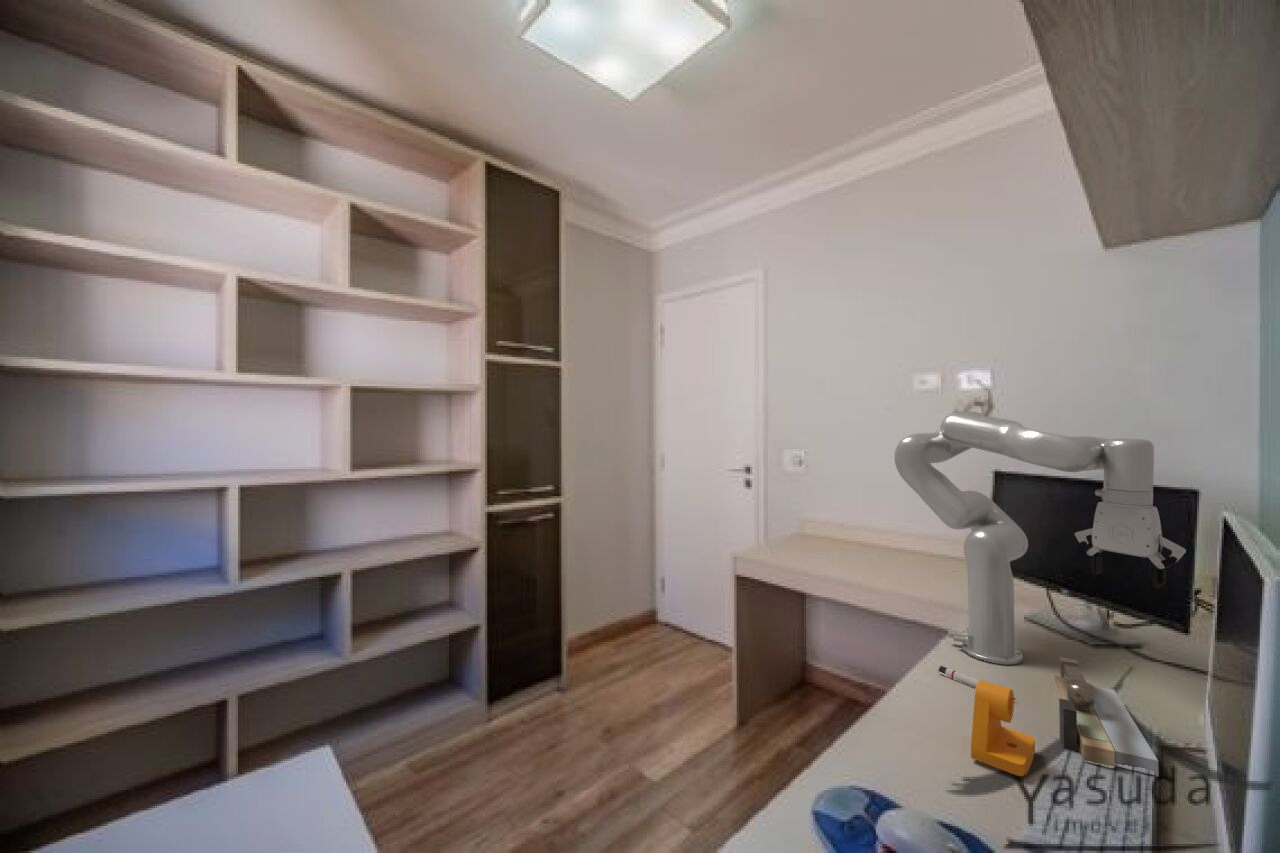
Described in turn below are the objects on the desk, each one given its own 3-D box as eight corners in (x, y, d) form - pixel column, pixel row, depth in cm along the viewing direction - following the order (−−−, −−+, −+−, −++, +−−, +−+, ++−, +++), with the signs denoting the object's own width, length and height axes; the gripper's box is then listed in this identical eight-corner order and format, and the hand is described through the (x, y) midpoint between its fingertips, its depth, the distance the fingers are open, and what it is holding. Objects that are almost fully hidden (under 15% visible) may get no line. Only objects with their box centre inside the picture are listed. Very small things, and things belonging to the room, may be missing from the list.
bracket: (1023, 783, 84) (1022, 708, 84) (971, 762, 89) (970, 691, 89) (1036, 753, 91) (1035, 684, 91) (987, 735, 96) (986, 670, 96)
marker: (938, 675, 120) (938, 666, 120) (943, 673, 121) (943, 664, 121) (1013, 705, 107) (1013, 696, 107) (1018, 703, 108) (1018, 693, 108)
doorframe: (1067, 757, 89) (1066, 717, 89) (1042, 686, 114) (1041, 654, 114) (1160, 780, 83) (1160, 736, 84) (1113, 700, 108) (1112, 666, 108)
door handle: (1097, 709, 97) (1096, 690, 97) (1069, 704, 99) (1069, 685, 99) (1080, 677, 109) (1080, 660, 109) (1056, 673, 111) (1056, 656, 111)
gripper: (1068, 494, 114) (1067, 572, 114) (1179, 506, 99) (1177, 595, 99) (1084, 491, 118) (1082, 567, 118) (1192, 502, 103) (1190, 589, 103)
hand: (1125, 580), depth 109 cm, fingers open, 9 cm apart
